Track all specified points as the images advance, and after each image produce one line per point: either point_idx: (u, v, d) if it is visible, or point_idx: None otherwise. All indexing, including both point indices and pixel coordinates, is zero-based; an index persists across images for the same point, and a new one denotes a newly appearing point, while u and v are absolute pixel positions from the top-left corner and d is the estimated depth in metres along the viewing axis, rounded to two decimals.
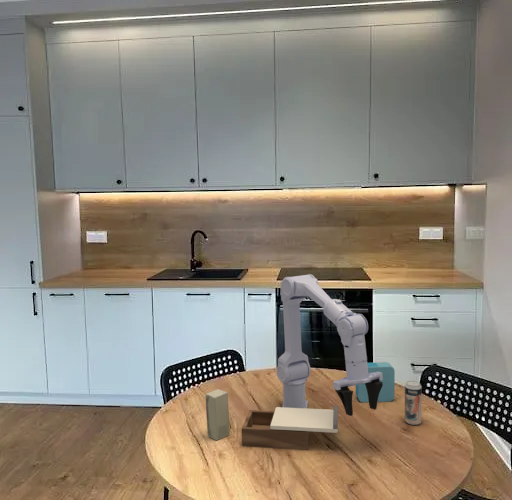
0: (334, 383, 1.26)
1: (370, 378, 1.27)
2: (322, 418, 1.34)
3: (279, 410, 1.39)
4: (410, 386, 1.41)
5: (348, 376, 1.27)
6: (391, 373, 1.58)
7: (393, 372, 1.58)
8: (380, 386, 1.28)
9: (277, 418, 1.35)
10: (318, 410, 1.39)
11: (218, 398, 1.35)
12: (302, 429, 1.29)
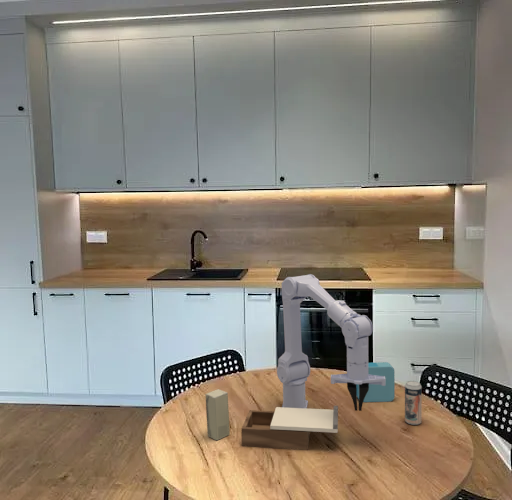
0: None
1: (366, 381, 1.28)
2: (322, 418, 1.34)
3: (279, 410, 1.39)
4: (410, 386, 1.41)
5: (347, 373, 1.32)
6: (391, 373, 1.58)
7: (393, 372, 1.58)
8: (364, 391, 1.29)
9: (277, 418, 1.35)
10: (318, 410, 1.39)
11: (218, 398, 1.35)
12: (302, 429, 1.29)
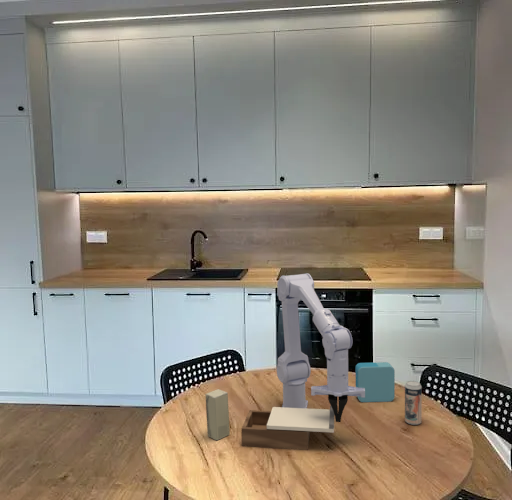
0: (311, 388, 1.34)
1: (346, 393, 1.30)
2: (318, 418, 1.34)
3: (276, 410, 1.40)
4: (410, 386, 1.41)
5: (327, 385, 1.33)
6: (391, 373, 1.58)
7: (393, 372, 1.58)
8: (343, 402, 1.30)
9: (273, 418, 1.35)
10: (315, 410, 1.39)
11: (218, 398, 1.35)
12: (298, 429, 1.29)
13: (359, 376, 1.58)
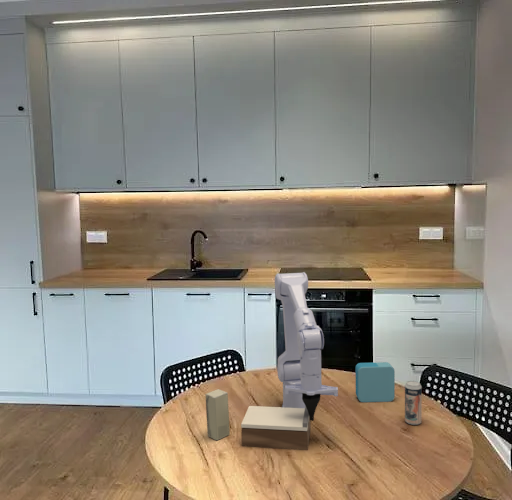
0: (285, 387, 1.35)
1: (319, 392, 1.31)
2: (293, 417, 1.35)
3: (252, 409, 1.41)
4: (410, 386, 1.41)
5: None
6: (391, 373, 1.58)
7: (393, 372, 1.58)
8: (316, 401, 1.31)
9: (248, 417, 1.36)
10: (290, 409, 1.40)
11: (218, 398, 1.35)
12: (272, 427, 1.30)
13: (359, 376, 1.58)
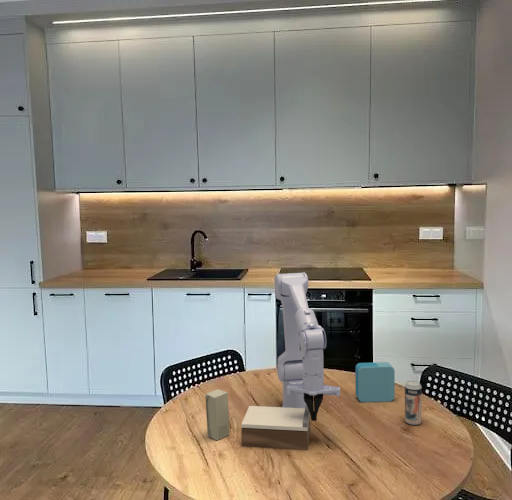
0: (287, 387, 1.35)
1: (321, 392, 1.31)
2: (293, 417, 1.35)
3: (252, 409, 1.41)
4: (410, 386, 1.41)
5: None
6: (391, 373, 1.58)
7: (393, 372, 1.58)
8: (318, 401, 1.31)
9: (249, 417, 1.36)
10: (290, 409, 1.40)
11: (218, 398, 1.35)
12: (272, 427, 1.30)
13: (359, 376, 1.58)
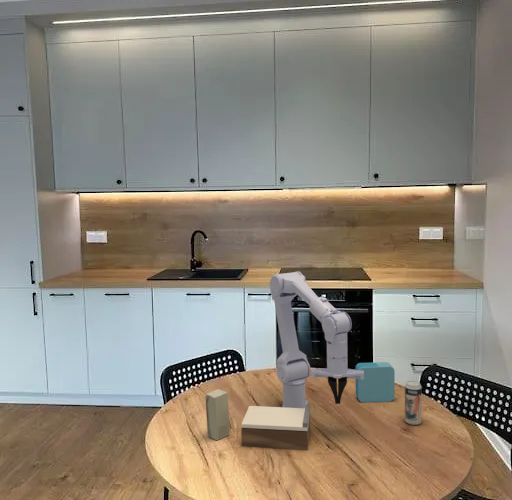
0: (311, 371, 1.37)
1: (345, 375, 1.33)
2: (293, 417, 1.35)
3: (252, 409, 1.41)
4: (410, 386, 1.41)
5: (327, 368, 1.36)
6: (391, 373, 1.58)
7: (393, 372, 1.58)
8: (343, 384, 1.33)
9: (249, 417, 1.36)
10: (290, 409, 1.40)
11: (218, 398, 1.35)
12: (272, 427, 1.30)
13: None
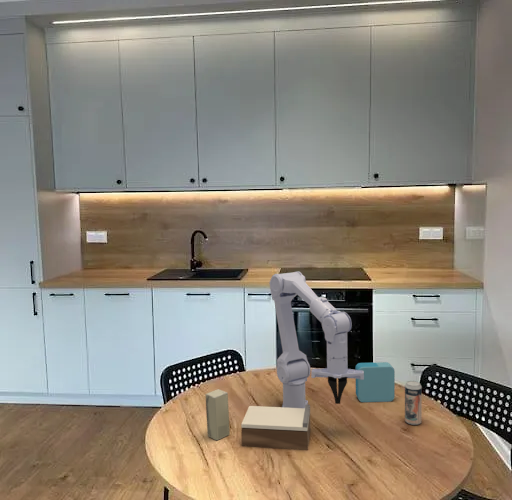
0: (311, 371, 1.37)
1: (345, 375, 1.33)
2: (293, 417, 1.35)
3: (252, 409, 1.41)
4: (410, 386, 1.41)
5: (327, 368, 1.36)
6: (391, 373, 1.58)
7: (393, 372, 1.58)
8: (343, 384, 1.33)
9: (249, 417, 1.36)
10: (290, 409, 1.40)
11: (218, 398, 1.35)
12: (272, 427, 1.30)
13: None
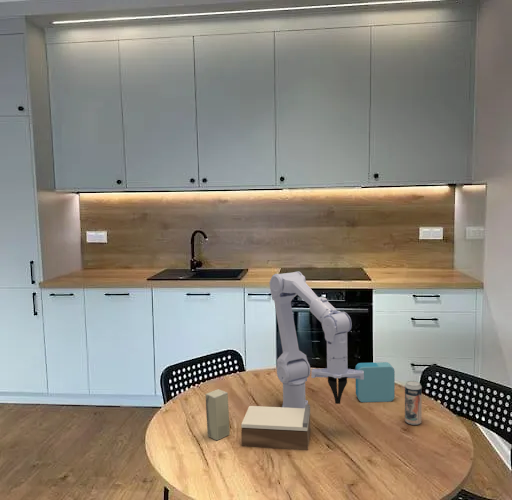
0: (311, 371, 1.37)
1: (345, 375, 1.33)
2: (293, 417, 1.35)
3: (252, 409, 1.41)
4: (410, 386, 1.41)
5: (327, 368, 1.36)
6: (391, 373, 1.58)
7: (393, 372, 1.58)
8: (343, 384, 1.33)
9: (249, 417, 1.36)
10: (290, 409, 1.40)
11: (218, 398, 1.35)
12: (272, 427, 1.30)
13: None
